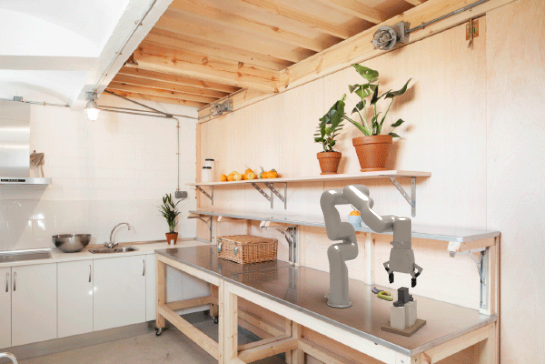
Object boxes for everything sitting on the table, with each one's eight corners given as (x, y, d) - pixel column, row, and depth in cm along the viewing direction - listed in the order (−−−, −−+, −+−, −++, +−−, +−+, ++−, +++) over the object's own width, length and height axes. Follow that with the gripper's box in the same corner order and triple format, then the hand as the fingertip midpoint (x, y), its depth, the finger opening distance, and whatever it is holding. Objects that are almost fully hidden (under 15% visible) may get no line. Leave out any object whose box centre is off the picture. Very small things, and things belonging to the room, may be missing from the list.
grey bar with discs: (390, 305, 155) (390, 291, 155) (405, 297, 167) (405, 283, 167) (401, 308, 152) (400, 293, 152) (415, 299, 164) (415, 285, 164)
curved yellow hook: (366, 289, 221) (383, 301, 196) (366, 284, 221) (383, 296, 196) (379, 288, 222) (397, 301, 197) (379, 284, 222) (397, 296, 197)
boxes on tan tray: (381, 329, 156) (380, 304, 157) (399, 317, 170) (399, 295, 171) (409, 337, 148) (408, 310, 149) (426, 323, 162) (425, 299, 163)
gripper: (379, 244, 163) (379, 283, 163) (419, 249, 152) (419, 290, 152) (387, 242, 169) (387, 279, 169) (425, 246, 157) (425, 286, 157)
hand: (402, 284), depth 160 cm, fingers open, 9 cm apart
